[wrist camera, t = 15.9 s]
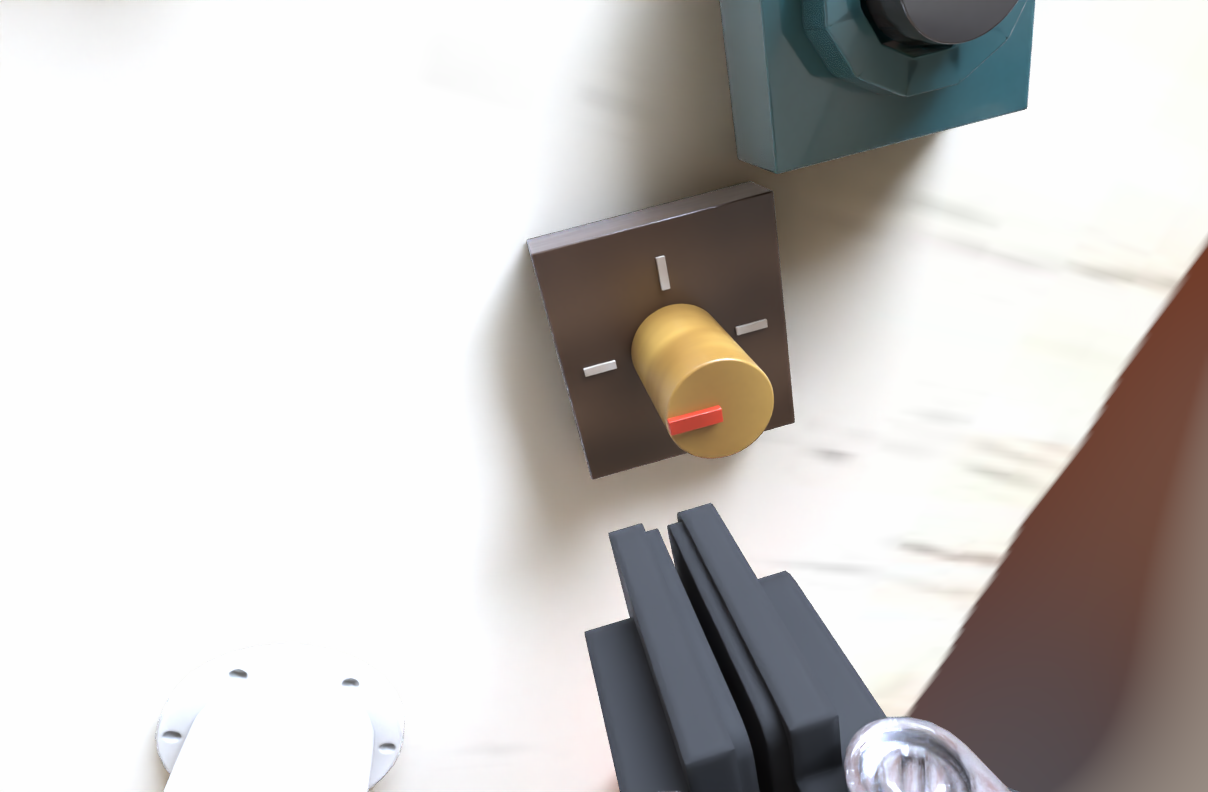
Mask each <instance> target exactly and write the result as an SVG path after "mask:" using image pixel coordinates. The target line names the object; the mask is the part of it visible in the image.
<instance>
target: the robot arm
mask: <svg viewBox="0 0 1208 792" xmlns="http://www.w3.org/2000/svg"><path fill="white" fill-rule="evenodd" d="M677 518H678V523H674V524H671V525H668V526H667V529H668V535H669V539H670V544H671V549H672V554H673V559H674V563H675V566H674V564H673V562H672V559H671V557H670V555H669V553H668V550H667V548H666V546H665V544H664V541H663V539H662V537H661V534H660V532H659V530H658V529H654V530H650V531H647V532H646V531H645V529H644V527H643V525H642V523H641V524H637V525H634V526H631V527H627V528H624V529H620V530H617V531H613V532H610V533H609V538H610V542H611V546H612V550H613V554H614V558H615V562H616V565H617V569H618V573H619V577H620V581H621V585H622V589H623V593H624V597H625V600H626V604H627V608H628V612H629V616H630V618H629V619H625V620H622V621H619V622H615V623H612V624H609V625H606V626H602V627H599V628H596V629H592V630H589V631H586V632H585V637H586V642H587V647H588V651H589V656H590V660H591V664H592V669H593V673H594V678H595V682H596V687H597V691H598V696H599V700H600V704H601V709H602V713H603V718H604V722H605V727H606V731H607V736H608V740H609V744H610V749H611V753H612V758H613V762H614V767H615V771H616V776H617V780H618V784H619V789H620V792H1019V791H1016V790H1013V789H1011V788H1008V787H1006V786H1005V785H1004V784H1003V783H1002V782H1001V781H1000V780H999V779H998V778H997V777H996V776H995V774H993V772H992V771H990V769H989V768H988V767H987V766H986V765H985V764H984V763H983V762H982V761H981V760H980V759H979V758H978V757H977V756H976V755H975V754H974V753H973V752H972V751H971V750H970V749H969V748H968V747H967V746H966V745H965V744H964V743H963V742H961V741H960V740H959V739H958V738H956V737H955V736H954V735H953V734H951V733H950V732H949V731H947V730H945V729H943V728H941V727H939V726H937V725H935V724H933V723H931V722H929V721H924V720H920V719H916V718H911V717H886V715H885V714H884V712H883V711H882V709H881V708H880V706H879V705H878V703H877V702H876V700H875V699H874V697H873V696H872V694H871V693H870V692H869V690H868V689H867V687H866V686H865V684H864V683H863V681H862V680H861V678H860V677H859V675H858V674H857V672H856V671H855V669H854V668H853V666H852V665H851V663H850V662H849V660H848V659H847V657H846V656H845V654H844V653H843V651H842V650H841V648H840V647H839V645H838V644H837V642H836V641H835V639H834V638H833V636H832V635H831V633H830V632H829V630H828V629H827V627H826V626H825V624H824V623H823V621H822V620H821V618H820V617H819V615H818V614H817V612H816V611H815V609H814V608H813V606H812V605H811V603H810V602H809V600H808V599H807V597H806V596H805V595H804V593H803V592H802V590H801V589H800V587H799V586H798V584H797V583H796V581H795V580H794V579H793V577H792V576H791V575H790V574H789V573H788V572H786V571H783V572H780V573H776V574H773V575H770V576H767V577H763V578H760V579H757V577H756V576H755V574H754V572H753V571H752V569H751V567H750V566H749V564H748V562H747V561H746V559H745V557H744V556H743V554H742V552H741V551H740V549H739V547H738V546H737V544H736V542H735V541H734V539H733V537H732V535H731V534H730V532H729V530H728V529H727V527H726V525H725V524H724V522H723V520H722V519H721V517H720V515H719V514H718V512H717V510H716V509H715V507H714V506H713V504H711V503H709V504H706V505H702V506H699V507H695V508H692V509H689V510H685V511H682V512H678V514H677ZM404 722H405V716H404V711H403V707H402V703H401V701H400V699H399V697H398V695H397V693H396V691H395V690H394V688H393V687H392V686H391V685H390V684H389V683H388V682H387V680H386V679H385V678H384V677H383V676H382V675H380V674H379V673H378V672H376V671H375V670H374V669H372V668H371V667H370V666H368V665H367V664H365V663H363V662H361V661H359V660H356V659H354V658H352V657H350V656H348V655H345V654H342V653H339V652H335V651H332V650H329V649H325V648H319V647H313V646H306V645H283V644H278V645H269V646H259V647H252V648H248V649H244V650H240V651H236V652H232V653H229V654H227V655H224V656H222V657H219V658H217V659H215V660H212V661H210V662H208V663H206V664H205V665H203V666H202V667H200V668H198V669H197V670H195V671H194V672H192V673H191V674H190V675H189V676H187V677H186V678H185V679H184V680H183V681H182V682H181V683H180V684H179V685H178V686H177V687H176V689H175V690H174V692H173V693H172V695H171V696H170V698H169V699H168V701H167V703H166V705H165V707H164V710H163V712H162V714H161V717H160V719H159V721H158V724H157V729H156V737H155V738H156V745H157V751H158V755H159V757H160V759H161V761H162V763H163V765H164V767H165V769H166V770H167V771H168V772H169V774H170V777H169V779H168V782H167V784H166V786H165V789H164V791H163V792H368V789H370V788H371V787H372V786H374V785H375V784H376V783H377V782H378V781H380V780H381V779H382V778H383V777H384V776H385V775H386V774H387V772H388V771H389V770H390V769H391V767H392V766H393V765H394V763H395V761H396V759H397V757H398V755H399V753H400V751H401V747H402V742H403V737H404Z"/></svg>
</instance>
